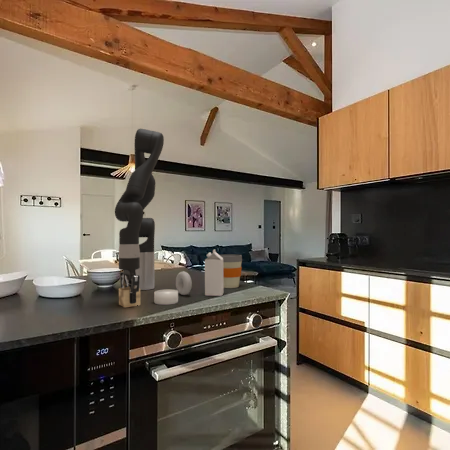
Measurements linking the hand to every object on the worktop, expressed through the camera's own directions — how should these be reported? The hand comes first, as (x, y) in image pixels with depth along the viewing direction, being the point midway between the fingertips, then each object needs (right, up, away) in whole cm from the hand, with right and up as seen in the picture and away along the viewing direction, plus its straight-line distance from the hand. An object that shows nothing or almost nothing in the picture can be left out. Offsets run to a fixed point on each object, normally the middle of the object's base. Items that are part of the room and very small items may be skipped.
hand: (129, 301), depth 126 cm
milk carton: (+31, -1, +19) cm, 36 cm away
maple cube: (0, -1, 0) cm, 1 cm away
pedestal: (+13, -1, +4) cm, 14 cm away
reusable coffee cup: (+38, -2, +38) cm, 54 cm away
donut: (+18, -1, +18) cm, 25 cm away
